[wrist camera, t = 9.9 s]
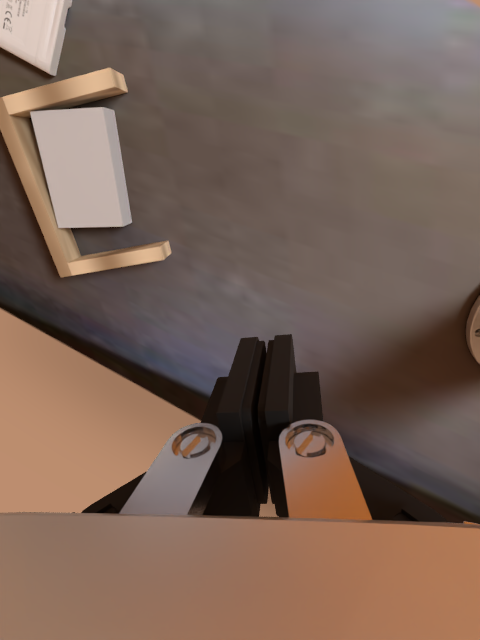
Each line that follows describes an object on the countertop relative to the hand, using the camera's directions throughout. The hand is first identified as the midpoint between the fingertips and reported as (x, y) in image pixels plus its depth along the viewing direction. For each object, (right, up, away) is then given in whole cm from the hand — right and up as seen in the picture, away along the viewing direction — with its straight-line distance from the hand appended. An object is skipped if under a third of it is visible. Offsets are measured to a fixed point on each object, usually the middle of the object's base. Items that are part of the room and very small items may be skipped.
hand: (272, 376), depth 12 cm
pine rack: (-13, +14, +20) cm, 28 cm away
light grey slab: (-14, +15, +20) cm, 29 cm away
